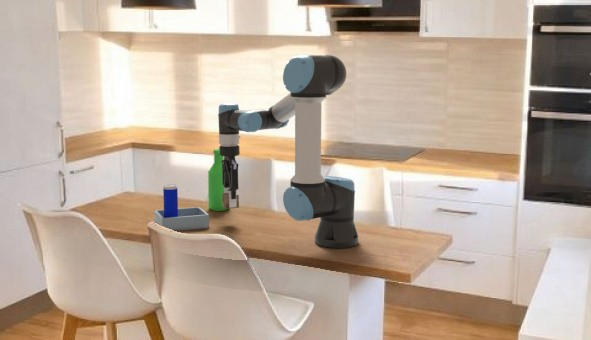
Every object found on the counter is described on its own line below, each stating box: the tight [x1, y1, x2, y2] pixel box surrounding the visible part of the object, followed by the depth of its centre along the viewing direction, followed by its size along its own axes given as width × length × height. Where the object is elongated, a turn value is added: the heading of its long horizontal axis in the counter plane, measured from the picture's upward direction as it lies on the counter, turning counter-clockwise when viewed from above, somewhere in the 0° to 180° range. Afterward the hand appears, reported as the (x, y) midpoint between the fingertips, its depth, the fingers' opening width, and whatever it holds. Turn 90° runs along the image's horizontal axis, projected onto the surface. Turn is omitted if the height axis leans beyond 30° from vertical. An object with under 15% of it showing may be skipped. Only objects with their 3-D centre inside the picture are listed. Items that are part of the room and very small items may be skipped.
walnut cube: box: [222, 192, 240, 210], centre depth 283 cm, size 5×5×5 cm
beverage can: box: [162, 183, 179, 218], centre depth 278 cm, size 5×5×15 cm
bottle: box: [207, 148, 228, 212], centre depth 306 cm, size 9×9×25 cm
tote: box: [153, 206, 210, 232], centre depth 281 cm, size 14×18×5 cm
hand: (230, 205), depth 283 cm, fingers closed on walnut cube, 5 cm apart
